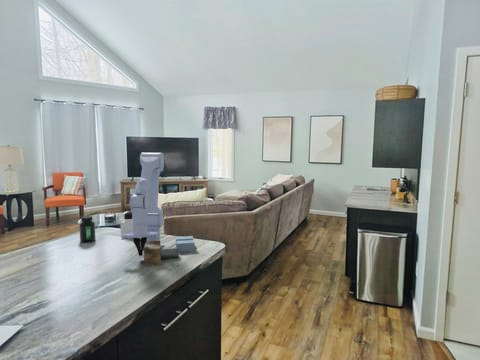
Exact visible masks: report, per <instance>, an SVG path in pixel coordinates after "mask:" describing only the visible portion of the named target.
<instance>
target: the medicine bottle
mask: <svg viewBox="0 0 480 360" xmlns="http://www.w3.org/2000/svg"><path fill="white" fill-rule="evenodd" d="M119 226H120V236H121V235H122V234H127V233H133V222H132V213H131V210H129V211H127V210H126V211H124V212H123V221H120V225H119Z"/></svg>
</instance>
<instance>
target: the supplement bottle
mask: <svg viewBox="0 0 480 360" xmlns="http://www.w3.org/2000/svg"><path fill="white" fill-rule="evenodd" d="M80 221H81V222H80V223H79V224H78V225H79V241H80V243H83V244H84V243H92V242H95V240H96V223H95V222H94V221H93V216H92V215H85V216H81V219H80Z"/></svg>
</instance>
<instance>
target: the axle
mask: <svg viewBox="0 0 480 360" xmlns="http://www.w3.org/2000/svg"><path fill="white" fill-rule="evenodd" d="M179 253H180V252H179V251H178V248H176V247H175V248H173V247H172V248H161V249H160V256H161V260H163V259H164V260H166V259H179V256H180V255H179ZM143 260H144V261H145V249H143Z"/></svg>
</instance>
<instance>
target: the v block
mask: <svg viewBox="0 0 480 360" xmlns="http://www.w3.org/2000/svg"><path fill="white" fill-rule="evenodd" d="M195 245H196V243H195V240H194V236H193V235H191V236H190V235H188V236H175V248H178V251H179V253H184V252H195V251H196V250H195V247H196V246H195Z"/></svg>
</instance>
